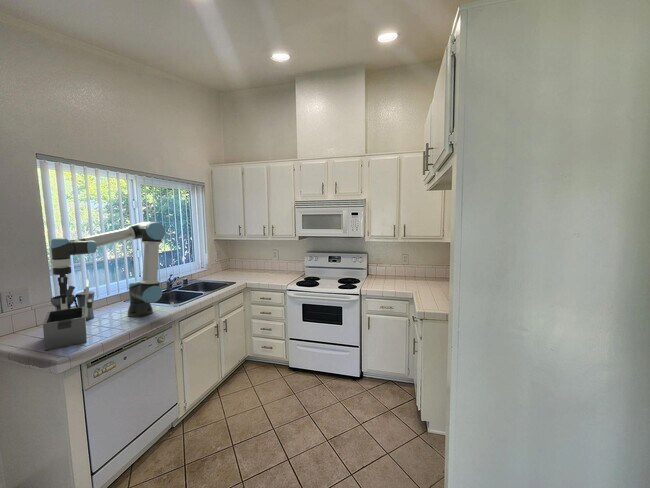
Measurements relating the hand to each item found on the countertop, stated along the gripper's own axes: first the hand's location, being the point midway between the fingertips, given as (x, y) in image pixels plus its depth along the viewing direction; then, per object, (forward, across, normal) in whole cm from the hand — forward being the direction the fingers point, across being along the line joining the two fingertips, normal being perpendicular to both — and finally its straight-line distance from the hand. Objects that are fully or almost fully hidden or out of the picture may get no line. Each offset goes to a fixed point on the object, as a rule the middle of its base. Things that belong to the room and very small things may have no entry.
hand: (64, 307), depth 163 cm
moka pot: (+18, -36, +8) cm, 41 cm away
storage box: (+18, +2, 0) cm, 18 cm away
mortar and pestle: (+1, 0, 0) cm, 1 cm away
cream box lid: (-4, +4, +9) cm, 11 cm away
